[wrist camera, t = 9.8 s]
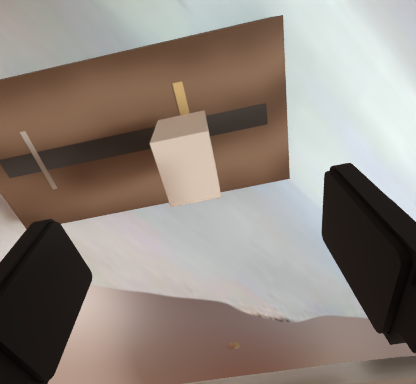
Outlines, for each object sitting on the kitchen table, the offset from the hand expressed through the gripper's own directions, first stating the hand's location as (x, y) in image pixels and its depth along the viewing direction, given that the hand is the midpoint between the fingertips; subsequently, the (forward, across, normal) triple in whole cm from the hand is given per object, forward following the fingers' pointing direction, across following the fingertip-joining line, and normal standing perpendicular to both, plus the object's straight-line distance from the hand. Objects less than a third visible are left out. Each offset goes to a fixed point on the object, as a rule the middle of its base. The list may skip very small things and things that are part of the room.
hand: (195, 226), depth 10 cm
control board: (+15, +5, +1) cm, 16 cm away
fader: (+12, +1, +1) cm, 12 cm away
